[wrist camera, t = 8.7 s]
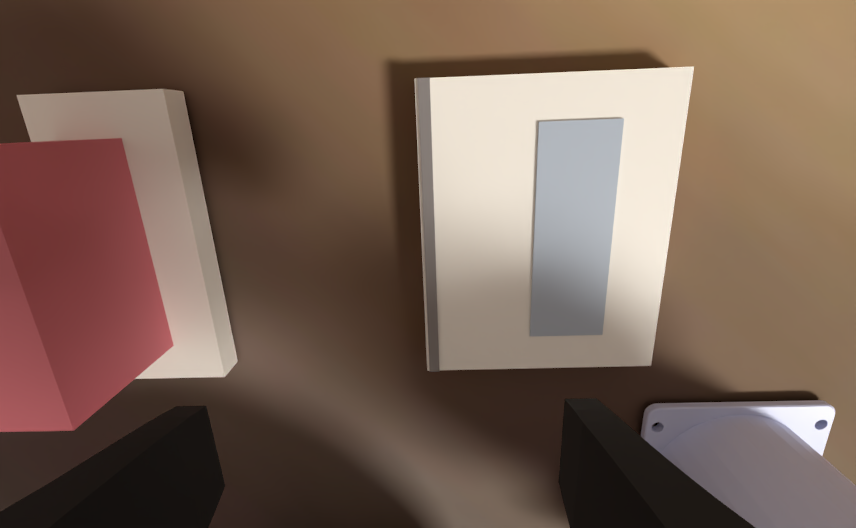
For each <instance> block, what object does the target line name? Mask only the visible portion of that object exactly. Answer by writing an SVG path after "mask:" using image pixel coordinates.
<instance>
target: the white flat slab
mask: <svg viewBox="0 0 856 528" xmlns="http://www.w3.org/2000/svg"><path fill="white" fill-rule="evenodd" d="M693 70H694V67H673V68H649V69H626V70H602V71H579V72H555V73H532V74H509V75H485V76H462V77H438V78H415V79H414V80H415V103H416V126H417V148H418V171H419V194H420V217H421V240H422V263H423V286H424V309H425V332H426V355H427V371H430V372H439V370H480V369H527V368H573V367H620V366H651V362H652V355H653V349H654V342H655V335H656V328H657V321H658V314H659V307H660V300H661V293H662V286H663V279H664V272H665V265H666V258H667V251H668V244H669V237H670V230H671V223H672V216H673V209H674V203H675V196H676V189H677V182H678V175H679V168H680V161H681V154H682V147H683V140H684V133H685V126H686V119H687V112H688V105H689V98H690V91H691V84H692V77H693Z"/></svg>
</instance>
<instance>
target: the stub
mask: <svg viewBox="0 0 856 528" xmlns="http://www.w3.org/2000/svg"><path fill="white" fill-rule="evenodd" d="M16 96H17V99H18V102H19V105H20V108H21V111H22V115H23V118H24V121H25V124H26V127H27V130H28V134H29V137H30V140H31V142H20V143H0V432H25V431H74V430H75V429H76V428H78V427H79V426H80V425H81V424H82V423H83V422H85V421H86V420H87V419H88V418H89V417H90V416H92V415H93V414H94V413H95V412H96V411H97V410H99V409H100V408H101V407H102V406H103V405H105V404H106V403H107V402H108V401H109V400H110V399H112V398H113V397H114V396H115V395H116V394H117V393H119V392H120V391H121V390H122V389H123V388H124V387H126V386H127V385H128V384H129V383H130V382H132V381H133V380H134V379H152V378H200V377H225V376H226V375H227V374H228V373H229V371H230V370H231V369H232V368H233V367H234V365H235V364H236V363H237V362H238V360H237V355H236V350H235V346H234V341H233V336H232V331H231V326H230V321H229V316H228V311H227V306H226V301H225V296H224V291H223V286H222V281H221V276H220V271H219V266H218V261H217V256H216V251H215V246H214V241H213V236H212V231H211V226H210V221H209V216H208V211H207V206H206V202H205V197H204V192H203V187H202V182H201V177H200V172H199V167H198V162H197V157H196V152H195V147H194V142H193V137H192V132H191V127H190V122H189V117H188V112H187V107H186V102H185V97H184V92H183V91H177V90H169V89H146V90H123V91H100V92H76V93H53V94H29V95H16Z"/></svg>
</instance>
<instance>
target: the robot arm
mask: <svg viewBox="0 0 856 528" xmlns="http://www.w3.org/2000/svg"><path fill="white" fill-rule="evenodd" d="M834 416H835V409H834V407H833V406H831V405H830V404H828V403H827V402H825V401H822V400H807V401H754V402H700V403H656V404H652V405H650V406H648V407H647V408H646V409H645V411H644V416H643V423H642V430H641V436H640V435H638V434H637V433H636V432H635V431H634V430H633V429H631V428H630V427H629V426H628V425H627V424H626V423H625V422H623V421H622V420H621V419H620V418H619V417H618V416H616V415H615V414H614V413H613V412H612V411H611V410H609V409H608V408H607V407H606V406H605V405H604V404H602V403H601V402H600V401H599V400H597V399H565V404H564V418H563V431H562V445H561V458H560V472H559V484H560V489H561V493H562V497H563V501H564V505H565V509H566V513H567V517H568V521H569V525H570V528H856V485H855V484H853V483H852V482H851V481H850V480H849V479H848V478H847V477H845V476H844V475H843V474H842V473H841V472H840V471H839V470H837V469H836V468H835V467H834V466H833V465H832V464H831V463H829V462H828V461H827V460H826V459H825V458H824V457H822V455H823V451H824V448H825V445H826V442H827V439H828V435H829V432H830V429H831V426H832V422H833V419H834ZM658 422H659V423H658ZM655 423H658V424H657V425H656V426H652V425H653V424H655ZM224 487H225V484H224V479H223V475H222V471H221V467H220V463H219V458H218V454H217V450H216V446H215V441H214V437H213V433H212V429H211V425H210V420H209V416H208V412H207V408H206V406H178V407H175V408H173V409H171V410H169V411H167V412H165V413H164V414H162V415H160V416H158V417H156V418H155V419H153V420H151V421H150V422H148V423H146V424H145V425H143V426H141V427H140V428H138V429H136V430H135V431H133V432H131V433H130V434H128V435H127V436H125V437H123V438H122V439H120V440H118V441H117V442H115V443H114V444H112V445H110V446H109V447H107V448H106V449H104V450H102V451H101V452H99V453H98V454H96V455H94V456H93V457H91V458H89V459H88V460H86V461H85V462H83V463H81V464H80V465H78V466H76V467H75V468H73V469H72V470H70V471H68V472H67V473H65V474H64V475H62V476H60V477H59V478H57V479H55V480H54V481H52V482H50V483H49V484H47V485H45V486H44V487H42V488H40V489H39V490H37V491H35V492H34V493H32V494H30V495H28V496H27V497H25V498H23V499H22V500H20V501H18V502H16V503H15V504H13V505H11V506H10V507H8V508H6V509H5V510H3V511H1V512H0V528H208V527H209V524H210V522H211V520H212V517H213V515H214V513H215V510H216V507H217V505H218V502H219V500H220V497H221V495H222V492H223V490H224Z"/></svg>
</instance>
